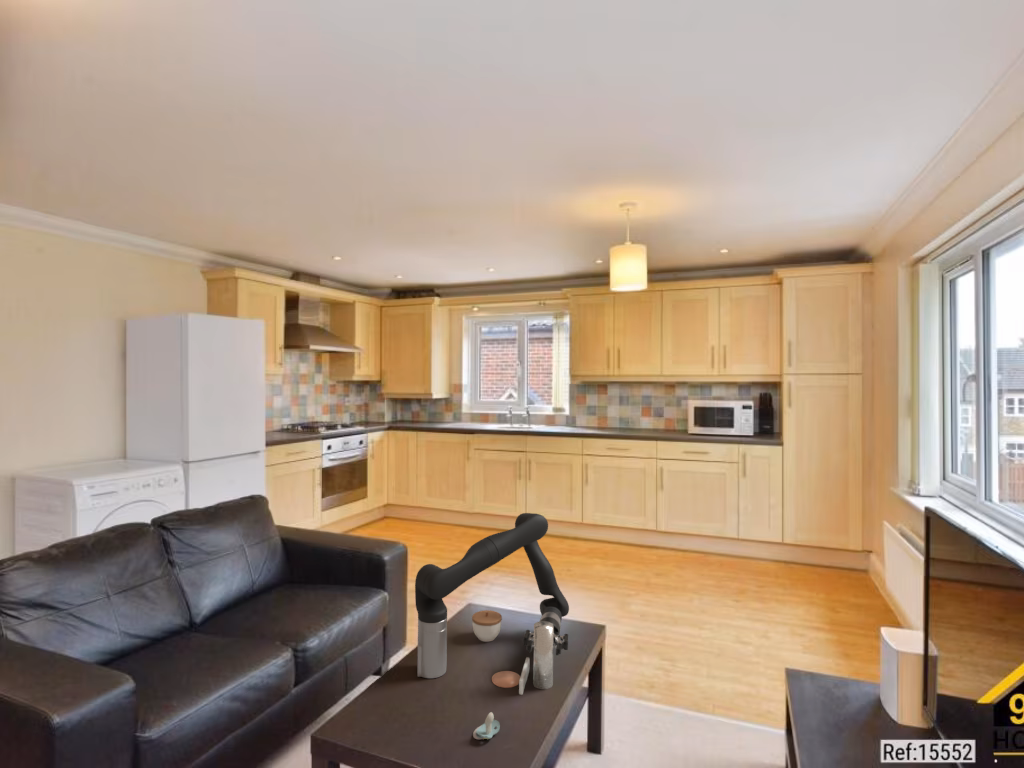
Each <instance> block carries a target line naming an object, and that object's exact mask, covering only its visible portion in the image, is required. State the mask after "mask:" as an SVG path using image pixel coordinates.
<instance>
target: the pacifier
mask: <svg viewBox="0 0 1024 768" xmlns="http://www.w3.org/2000/svg"><path fill="white" fill-rule="evenodd" d="M494 716H495V715H494V713H493V712H492V711H491V712H489V713H488V714H487V716H486V718H485V720H484V723H482V724H481V725H480V726H477V727H476V728H475V730H474V731H473V733H472V736H473V739H476V740H484V739H487V740H489V739H492V738H493V736H494V735H496V734H498V732H500V729H501V728H500V727H501V724H500V721H498V720H496V719H494V718H495V717H494Z"/></svg>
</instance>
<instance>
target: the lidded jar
mask: <svg viewBox="0 0 1024 768" xmlns="http://www.w3.org/2000/svg"><path fill="white" fill-rule="evenodd" d="M502 620H503V616H502V614H501V613H500V612H498V611H495V610H489V609H488V610H487V609H486V610H480V611H477V612H474V613H473V615H472V616H471V621H472V630H473V633H474V635H475V637H476V638H478V640H479V641H481V642H485V643H488V642H489V643H490V642H492V641H494V640H495V639H496V638H497V636H498V635H499V634H500V631H501V628H502Z"/></svg>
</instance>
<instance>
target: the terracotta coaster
mask: <svg viewBox="0 0 1024 768" xmlns="http://www.w3.org/2000/svg"><path fill="white" fill-rule="evenodd" d="M520 677H521V675H520V674H519V673H517V672H514V671H510V670H501V671H498V672H496V673H494V674H493V675H492V677H491V682H492V684H493V685H495V686H496V687H499V688H505V689H509V688H514V687H516V686H519V680H520Z"/></svg>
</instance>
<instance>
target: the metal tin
mask: <svg viewBox="0 0 1024 768" xmlns="http://www.w3.org/2000/svg"><path fill="white" fill-rule="evenodd" d="M553 629H554V626H553V624H552V623H550V622H547V621H540V620H538V621H536V622H535V623H534V624H533V633H534V646H533V663H532V664H533V665H532V667H533V668H532V671H533V677H532V681H533V682H532V684H533V686H534V687H535V688H536V689H539V690H548V689H551V688H552V687H553V686H554V685H553V684H554V647H553Z"/></svg>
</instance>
